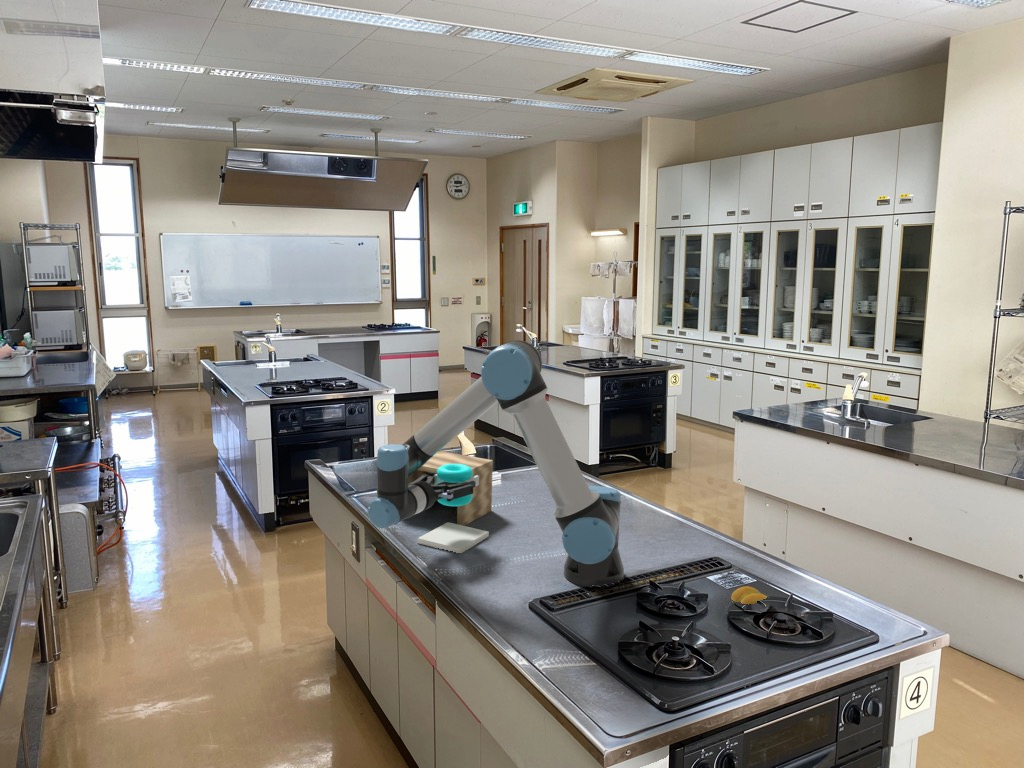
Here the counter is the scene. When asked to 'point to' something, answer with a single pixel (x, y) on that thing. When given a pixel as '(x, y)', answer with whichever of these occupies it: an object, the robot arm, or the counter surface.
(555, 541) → the counter surface
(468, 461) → the tunnel
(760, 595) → the bread roll
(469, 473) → the donuts
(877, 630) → the counter surface
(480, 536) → the platter
